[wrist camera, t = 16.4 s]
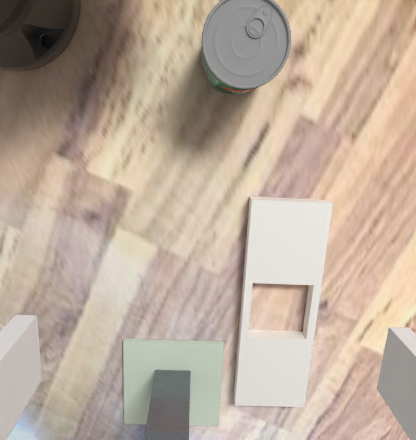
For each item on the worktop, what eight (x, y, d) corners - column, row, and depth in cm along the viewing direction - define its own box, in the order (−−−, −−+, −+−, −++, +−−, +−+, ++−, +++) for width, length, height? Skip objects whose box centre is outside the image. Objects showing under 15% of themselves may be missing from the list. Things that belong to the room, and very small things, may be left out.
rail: (233, 395, 56) (234, 405, 54) (249, 196, 48) (251, 199, 46) (300, 396, 56) (304, 407, 55) (327, 199, 49) (332, 203, 47)
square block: (154, 399, 55) (144, 466, 45) (155, 369, 54) (144, 431, 43) (189, 400, 55) (187, 467, 45) (190, 370, 54) (188, 432, 43)
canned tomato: (242, 109, 45) (255, 107, 35) (187, 68, 44) (184, 53, 33) (282, 50, 44) (309, 29, 33) (226, 6, 42) (236, -31, 32)
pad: (124, 420, 57) (124, 424, 56) (124, 338, 53) (123, 340, 53) (218, 422, 57) (218, 426, 57) (223, 341, 54) (224, 343, 53)
